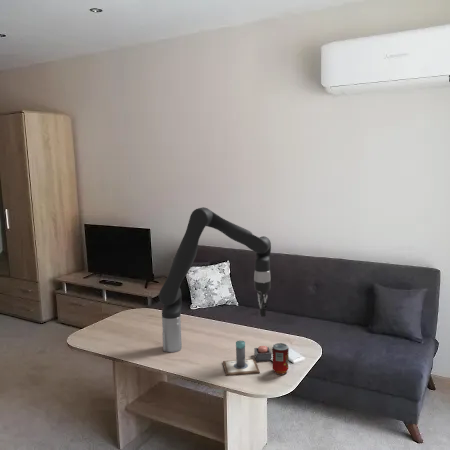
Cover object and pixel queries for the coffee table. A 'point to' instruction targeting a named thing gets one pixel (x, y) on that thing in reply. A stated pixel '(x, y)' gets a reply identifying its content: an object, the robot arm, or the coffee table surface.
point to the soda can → (280, 358)
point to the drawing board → (248, 369)
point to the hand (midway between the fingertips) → (262, 315)
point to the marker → (240, 354)
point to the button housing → (262, 355)
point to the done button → (262, 349)
